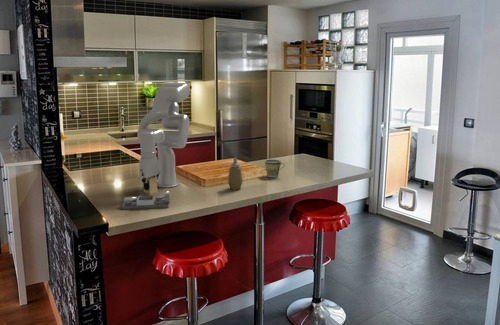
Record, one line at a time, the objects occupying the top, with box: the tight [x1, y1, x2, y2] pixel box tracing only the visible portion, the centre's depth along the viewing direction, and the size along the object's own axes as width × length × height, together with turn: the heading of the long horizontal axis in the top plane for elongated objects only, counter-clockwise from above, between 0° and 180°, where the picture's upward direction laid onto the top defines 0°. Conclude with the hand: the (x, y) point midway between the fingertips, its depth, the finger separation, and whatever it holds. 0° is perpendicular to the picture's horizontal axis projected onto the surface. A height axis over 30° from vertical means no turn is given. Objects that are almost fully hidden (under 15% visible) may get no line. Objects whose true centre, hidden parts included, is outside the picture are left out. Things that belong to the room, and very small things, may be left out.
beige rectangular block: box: [143, 176, 158, 195], centre depth 230 cm, size 5×5×8 cm
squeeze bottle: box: [227, 157, 243, 191], centre depth 245 cm, size 8×8×18 cm
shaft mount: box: [121, 190, 171, 211], centre depth 213 cm, size 23×9×7 cm, turn 99°
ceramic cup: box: [264, 158, 285, 179], centre depth 274 cm, size 13×10×10 cm
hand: (150, 188), depth 230 cm, fingers closed on beige rectangular block, 5 cm apart
